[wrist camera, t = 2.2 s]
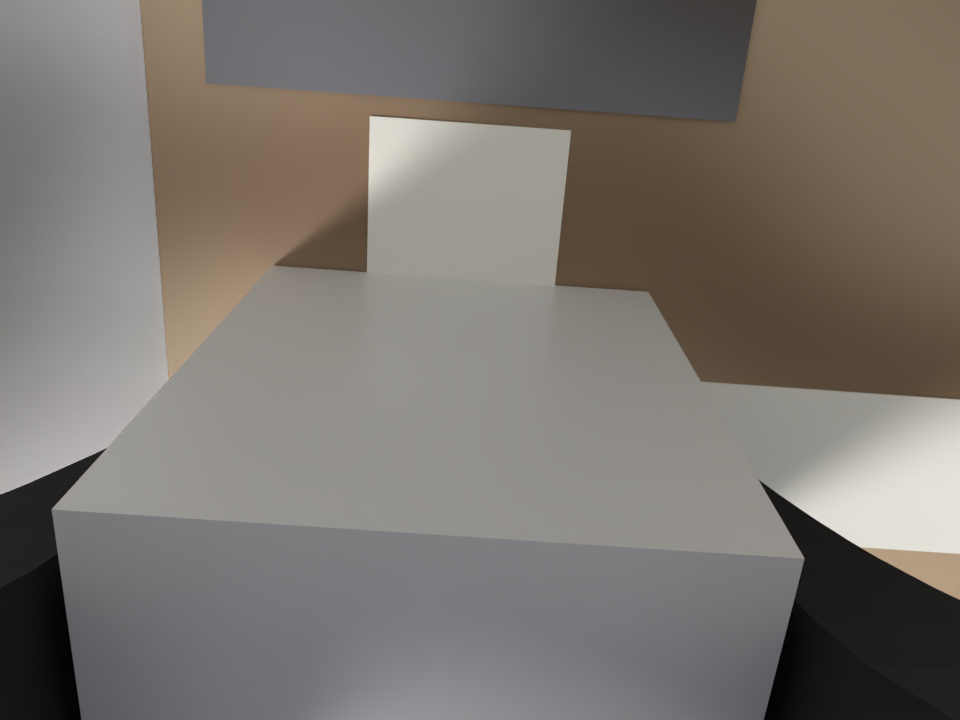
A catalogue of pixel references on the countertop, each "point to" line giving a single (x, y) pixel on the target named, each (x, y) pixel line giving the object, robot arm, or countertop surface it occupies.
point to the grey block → (426, 518)
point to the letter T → (744, 408)
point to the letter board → (600, 165)
